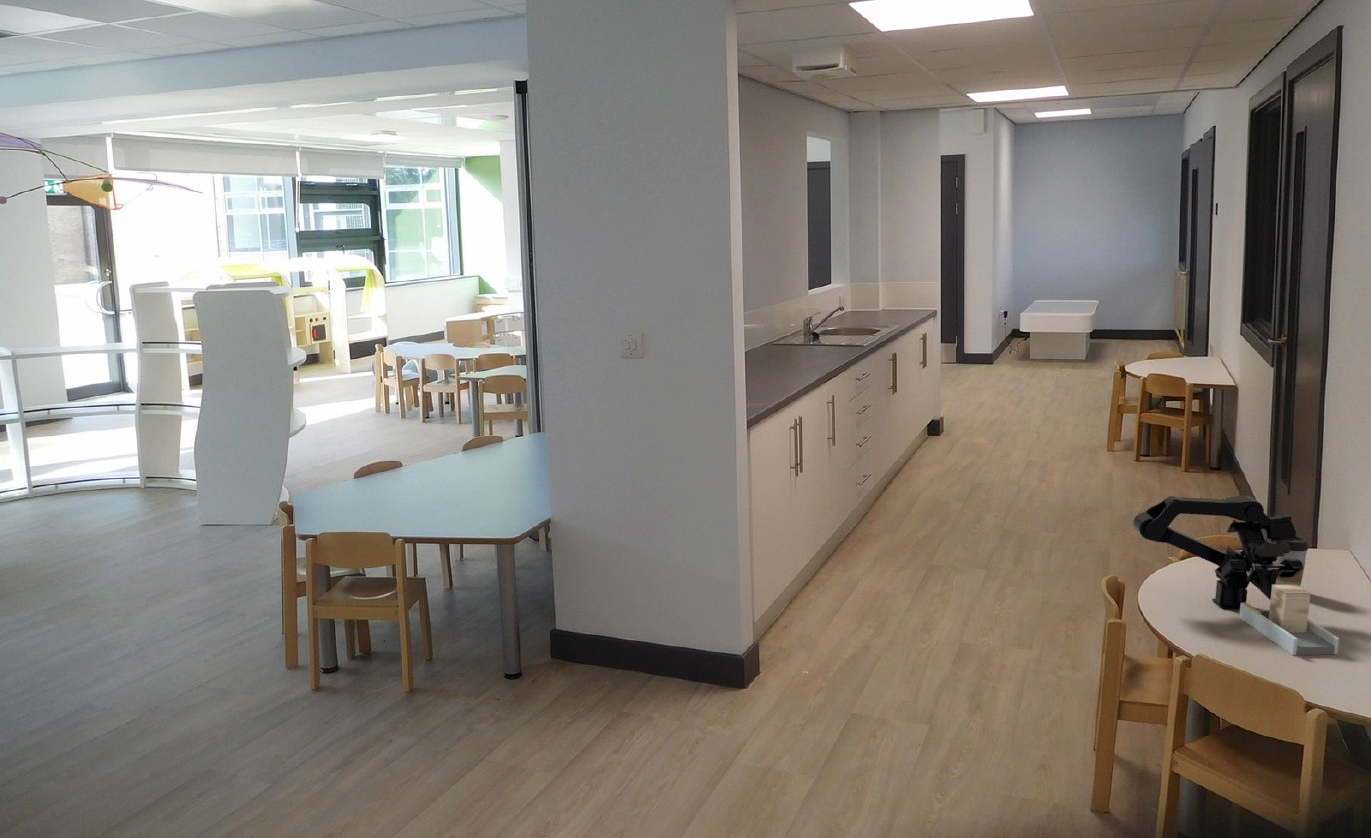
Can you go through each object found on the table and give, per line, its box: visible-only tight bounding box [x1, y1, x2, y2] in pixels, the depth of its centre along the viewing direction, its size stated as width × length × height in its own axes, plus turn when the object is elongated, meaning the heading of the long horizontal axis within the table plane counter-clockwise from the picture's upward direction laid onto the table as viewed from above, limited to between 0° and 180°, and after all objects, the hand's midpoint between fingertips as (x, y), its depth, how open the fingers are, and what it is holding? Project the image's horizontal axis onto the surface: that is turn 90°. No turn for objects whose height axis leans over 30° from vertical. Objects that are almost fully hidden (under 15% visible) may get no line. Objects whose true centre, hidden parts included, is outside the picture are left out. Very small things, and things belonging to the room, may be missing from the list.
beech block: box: [1268, 584, 1311, 632], centre depth 266 cm, size 6×6×10 cm
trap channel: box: [1238, 602, 1340, 656], centre depth 267 cm, size 24×11×4 cm, turn 1°
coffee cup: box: [1273, 535, 1309, 587], centre depth 296 cm, size 8×8×15 cm
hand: (1272, 599), depth 273 cm, fingers closed
